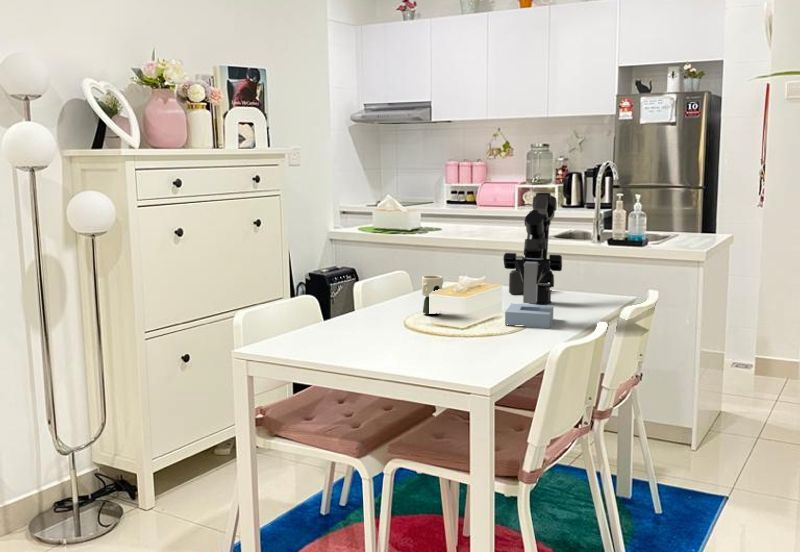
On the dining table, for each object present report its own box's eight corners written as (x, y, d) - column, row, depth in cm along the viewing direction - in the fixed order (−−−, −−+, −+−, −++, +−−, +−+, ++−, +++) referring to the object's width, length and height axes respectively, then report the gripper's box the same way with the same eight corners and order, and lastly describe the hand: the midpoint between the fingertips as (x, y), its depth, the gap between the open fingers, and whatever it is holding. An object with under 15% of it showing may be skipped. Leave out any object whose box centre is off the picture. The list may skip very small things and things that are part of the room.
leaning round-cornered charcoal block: (517, 296, 310) (517, 271, 309) (507, 294, 313) (508, 270, 312) (543, 290, 321) (543, 267, 320) (533, 289, 324) (534, 265, 323)
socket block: (510, 316, 275) (511, 303, 274) (553, 318, 271) (553, 305, 270) (505, 325, 262) (505, 311, 261) (549, 328, 258) (549, 314, 257)
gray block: (524, 300, 268) (525, 261, 265) (537, 301, 267) (538, 261, 264) (523, 302, 264) (524, 263, 262) (535, 303, 263) (536, 263, 261)
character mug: (432, 318, 271) (432, 280, 269) (414, 316, 275) (414, 278, 273) (449, 313, 280) (449, 275, 278) (432, 310, 284) (432, 273, 282)
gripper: (504, 228, 268) (499, 266, 259) (562, 230, 263) (558, 269, 254) (507, 249, 276) (502, 286, 268) (563, 251, 271) (560, 289, 263)
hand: (530, 282), depth 263 cm, fingers closed on gray block, 4 cm apart
